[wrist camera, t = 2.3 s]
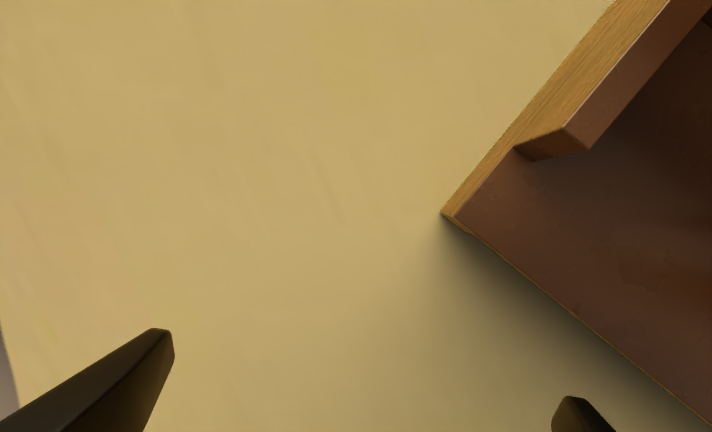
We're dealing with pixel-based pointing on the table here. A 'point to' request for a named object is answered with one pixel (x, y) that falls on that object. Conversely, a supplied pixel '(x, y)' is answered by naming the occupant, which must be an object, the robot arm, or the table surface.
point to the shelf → (616, 190)
